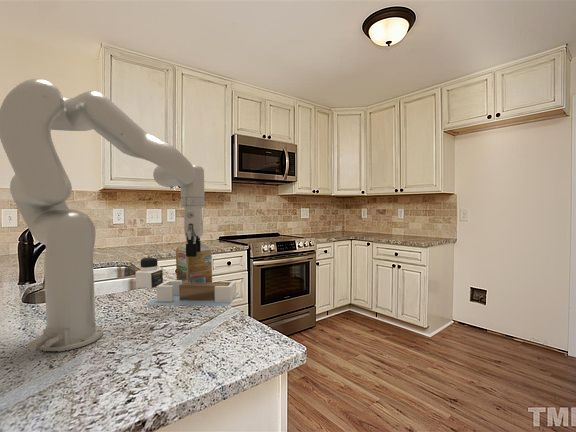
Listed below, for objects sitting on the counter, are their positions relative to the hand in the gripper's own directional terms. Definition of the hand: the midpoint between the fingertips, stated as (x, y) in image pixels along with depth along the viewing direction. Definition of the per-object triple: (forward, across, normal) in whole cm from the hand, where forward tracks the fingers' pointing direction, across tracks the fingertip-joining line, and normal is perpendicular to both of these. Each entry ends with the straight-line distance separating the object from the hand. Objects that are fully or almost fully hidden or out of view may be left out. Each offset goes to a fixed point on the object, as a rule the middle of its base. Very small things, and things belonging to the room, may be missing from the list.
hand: (193, 254), depth 100 cm
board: (+16, 0, 0) cm, 16 cm away
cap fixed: (+15, -2, -10) cm, 18 cm away
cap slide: (+15, +2, +8) cm, 17 cm away
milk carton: (+16, +26, +4) cm, 31 cm away
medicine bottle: (+16, +22, +20) cm, 34 cm away
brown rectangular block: (+15, -1, -4) cm, 15 cm away
